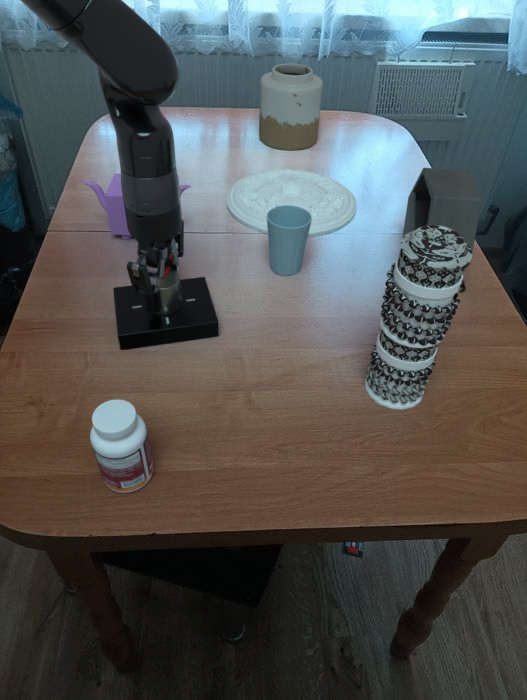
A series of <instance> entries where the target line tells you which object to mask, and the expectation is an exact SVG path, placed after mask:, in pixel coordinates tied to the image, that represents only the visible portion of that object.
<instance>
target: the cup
mask: <svg viewBox="0 0 527 700" xmlns="http://www.w3.org/2000/svg"><path fill="white" fill-rule="evenodd" d="M311 221H312V216H311V214H310V213H309V212H308V211H307V210H305V209H303V208H301V207H297V206H291V205H283V206H278V207H274V208H272V209H271V210H269V211H268V213H267V227H268V234H267V238H268V239H267V240H268V241H267V242H268V253H269V265H270V269H271V271H272V272H273V273H275V274H277V275H279V276H285V277H287V276H294V275H296V274H298V273H299V272H300V270H301V267H302V263H303V260H304V259H303V258H304V254H305V250H306V246H307V241H308V238H309V237H308V233H309V229H310V225H311Z"/></svg>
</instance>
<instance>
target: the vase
mask: <svg viewBox="0 0 527 700" xmlns="http://www.w3.org/2000/svg"><path fill="white" fill-rule="evenodd" d="M323 81H324V80H323V79H322V78H321V77H320V76H318V75H317V74H315V73H314V69H312V68H311V67H310V66H307V65H304V64H300V63H280V64H276V65H274V66H273V67H272V69H271V71H269V72H267V73H264V74H263V75H262V76H261V78H260V85H259V86H260V88H259V89H260V90H259V117H258V118H259V119H258V120H259V121H258V138H259V141H261V142H262V144H263V145H265V146H267V147H269V148H273V149H277V150H283V151H301V150H305V149H309V148H311V147H313V146H314V145H316V143H317V141H318V137H319V127H320V118H321V117H320V116H321V109H322V100H323V98H322V97H323V90H324V89H323V87H324V82H323Z"/></svg>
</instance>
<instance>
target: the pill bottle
mask: <svg viewBox="0 0 527 700" xmlns="http://www.w3.org/2000/svg"><path fill="white" fill-rule="evenodd" d="M91 422H92V427H91V429H90V432H89V433H90V434H89V439H90V445H91V448H92V450H93V454H94V457H95V460H96V464H97V467H98V469H99V473H100V476H101V479H102V481H103V483H104V484H105V486H106V487H107V488H109V490H111V491H113V492H116V493H120V494H127V493H132V492H136V491H138V490H140V489H142V488H143V487H145V485H147V484H148V483H149V481H150V480H151V478H152V476H153V474H154V468H155V467H154V460H153V454H152V450H151V445H150V440H149V435H148V430H147V425H146V423H145V421H144V419H143V418H142V417H141V416H140V415H139V414H138V413H137V410H136V408H135V406H134V405H133V404H132V403H131V402H130V401H128V400H125V399H118V398H117V399H110V400H107V401H104V402H103V403H101V404H99V405H98V406H97V407H96V408H95V409H94V411H93V412H92V416H91Z"/></svg>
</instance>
